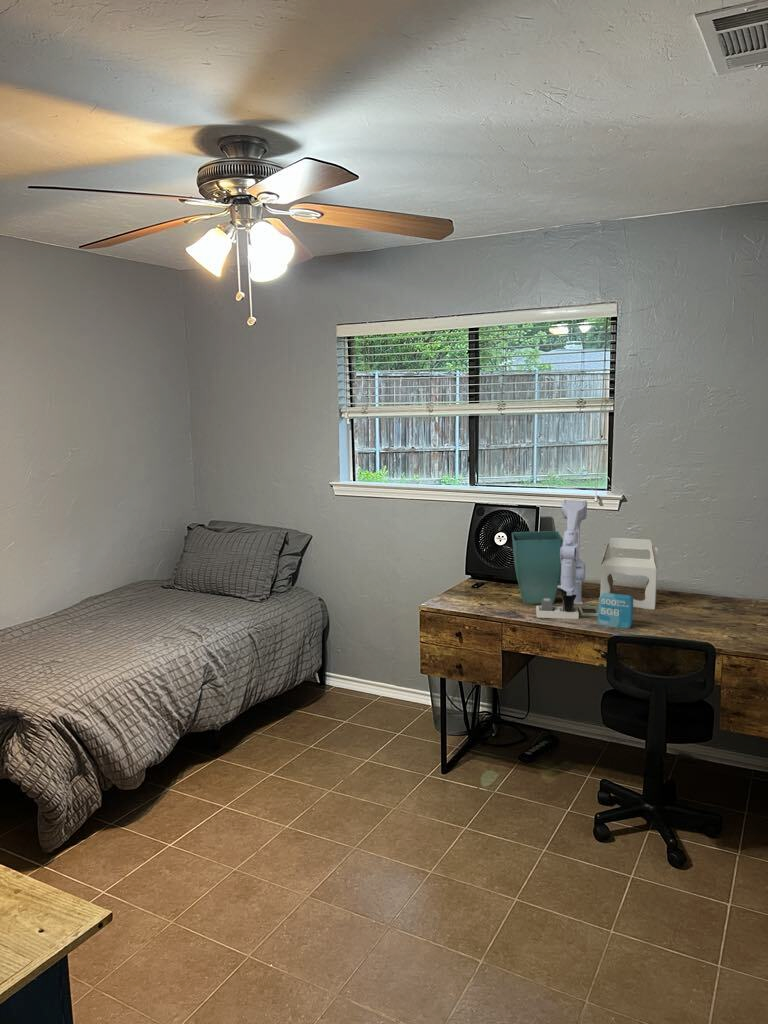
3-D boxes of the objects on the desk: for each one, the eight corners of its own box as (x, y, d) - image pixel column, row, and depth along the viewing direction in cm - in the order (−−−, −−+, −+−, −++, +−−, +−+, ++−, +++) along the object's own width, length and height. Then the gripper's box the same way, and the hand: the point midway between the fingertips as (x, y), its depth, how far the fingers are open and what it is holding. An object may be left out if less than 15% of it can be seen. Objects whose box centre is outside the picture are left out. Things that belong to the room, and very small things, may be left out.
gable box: (656, 601, 320) (659, 536, 316) (655, 609, 308) (658, 542, 304) (602, 597, 328) (604, 533, 324) (599, 605, 316) (601, 539, 312)
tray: (578, 609, 310) (578, 605, 310) (606, 609, 308) (606, 606, 308) (581, 616, 299) (581, 613, 299) (609, 617, 298) (609, 614, 297)
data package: (597, 625, 288) (598, 595, 286) (600, 622, 292) (601, 592, 290) (630, 629, 283) (631, 598, 281) (632, 626, 287) (633, 595, 285)
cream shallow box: (535, 612, 305) (536, 603, 305) (576, 614, 303) (576, 605, 302) (536, 618, 298) (537, 609, 297) (578, 620, 295) (578, 610, 295)
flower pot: (512, 594, 335) (511, 531, 330) (558, 593, 332) (557, 530, 328) (514, 606, 315) (513, 540, 311) (563, 606, 313) (563, 539, 308)
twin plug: (541, 613, 303) (541, 597, 302) (551, 613, 302) (551, 598, 301) (541, 616, 299) (542, 600, 298) (552, 616, 299) (552, 600, 298)
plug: (562, 613, 302) (562, 598, 301) (572, 614, 301) (573, 598, 300) (563, 616, 298) (563, 601, 297) (573, 617, 297) (574, 601, 296)
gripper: (556, 570, 305) (555, 603, 307) (559, 579, 291) (558, 613, 293) (574, 571, 304) (573, 603, 306) (578, 579, 289) (577, 614, 292)
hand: (567, 608), depth 299 cm, fingers open, 7 cm apart
